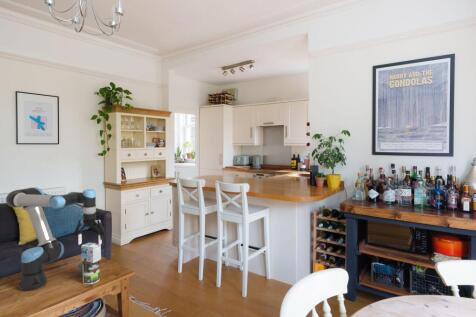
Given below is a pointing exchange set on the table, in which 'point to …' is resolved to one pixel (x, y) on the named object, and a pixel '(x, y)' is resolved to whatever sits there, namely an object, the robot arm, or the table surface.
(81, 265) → the grey domed cylinder
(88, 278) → the coffee can
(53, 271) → the table surface
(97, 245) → the light bulb box
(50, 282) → the table surface
